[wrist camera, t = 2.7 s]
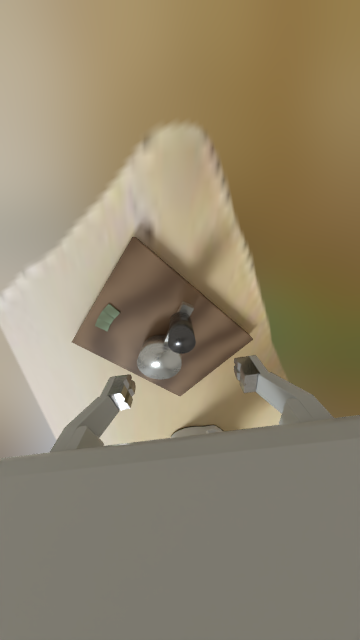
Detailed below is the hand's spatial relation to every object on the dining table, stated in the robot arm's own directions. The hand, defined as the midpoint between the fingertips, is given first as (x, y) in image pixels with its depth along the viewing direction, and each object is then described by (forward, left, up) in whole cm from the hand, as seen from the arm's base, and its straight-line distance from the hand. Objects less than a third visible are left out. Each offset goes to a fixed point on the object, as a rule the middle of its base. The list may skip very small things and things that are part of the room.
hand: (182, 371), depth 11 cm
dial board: (-1, +6, -13) cm, 15 cm away
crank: (-2, +5, -11) cm, 12 cm away
